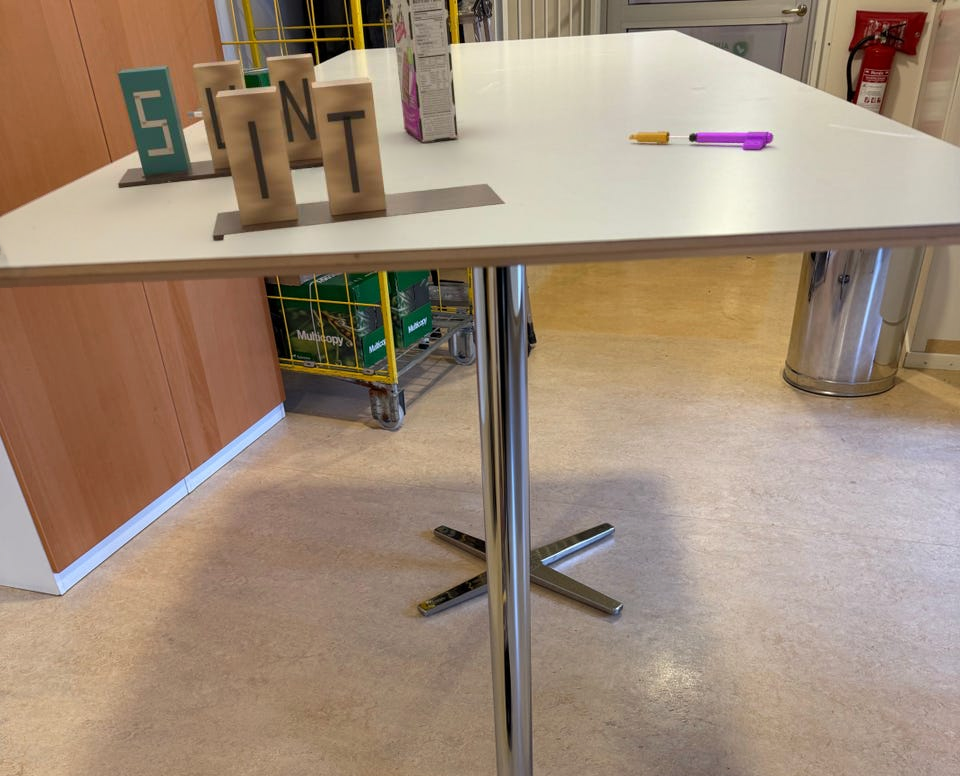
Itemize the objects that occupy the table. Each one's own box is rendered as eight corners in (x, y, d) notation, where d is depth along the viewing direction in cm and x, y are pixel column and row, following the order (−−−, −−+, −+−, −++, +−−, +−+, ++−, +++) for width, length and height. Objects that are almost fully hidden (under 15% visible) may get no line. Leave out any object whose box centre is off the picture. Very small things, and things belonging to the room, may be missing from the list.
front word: (213, 240, 80) (182, 103, 74) (218, 217, 87) (190, 90, 81) (505, 207, 83) (499, 72, 76) (487, 187, 90) (480, 63, 83)
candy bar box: (401, 131, 121) (385, -22, 111) (438, 127, 122) (426, -26, 112) (419, 144, 112) (404, -21, 102) (459, 139, 113) (447, -25, 103)
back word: (118, 187, 102) (88, 79, 96) (128, 172, 109) (101, 70, 103) (350, 162, 105) (336, 56, 99) (345, 150, 112) (332, 49, 106)
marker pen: (774, 141, 97) (632, 140, 104) (774, 129, 96) (631, 129, 103) (766, 153, 96) (623, 150, 103) (766, 141, 95) (622, 139, 102)
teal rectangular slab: (144, 175, 104) (117, 73, 98) (147, 169, 108) (122, 69, 101) (188, 171, 105) (164, 68, 99) (191, 164, 108) (168, 65, 102)
